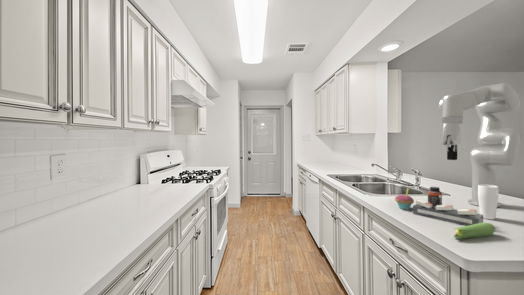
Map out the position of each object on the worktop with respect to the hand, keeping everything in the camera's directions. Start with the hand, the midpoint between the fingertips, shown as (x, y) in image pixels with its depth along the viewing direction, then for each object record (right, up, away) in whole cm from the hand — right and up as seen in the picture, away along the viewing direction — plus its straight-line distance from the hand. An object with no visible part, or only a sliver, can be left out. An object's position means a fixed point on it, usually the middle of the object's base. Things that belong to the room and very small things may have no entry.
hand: (452, 159), depth 108 cm
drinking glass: (+14, -27, -3) cm, 31 cm away
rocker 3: (-2, -22, -11) cm, 25 cm away
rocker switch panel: (-5, -27, -3) cm, 28 cm away
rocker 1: (-12, -22, +2) cm, 25 cm away
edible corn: (-11, -29, -21) cm, 37 cm away
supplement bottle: (+1, -27, +12) cm, 30 cm away
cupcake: (-14, -27, +14) cm, 34 cm away
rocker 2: (-7, -22, -4) cm, 23 cm away
